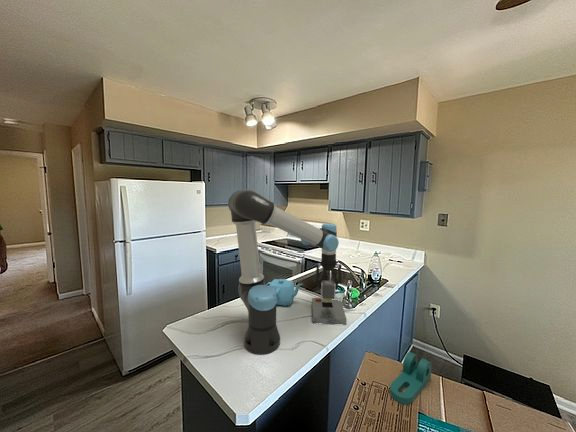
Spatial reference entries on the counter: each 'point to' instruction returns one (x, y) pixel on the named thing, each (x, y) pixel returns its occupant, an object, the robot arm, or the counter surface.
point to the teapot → (284, 291)
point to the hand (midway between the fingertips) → (327, 294)
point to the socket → (328, 312)
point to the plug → (328, 290)
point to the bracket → (411, 379)
